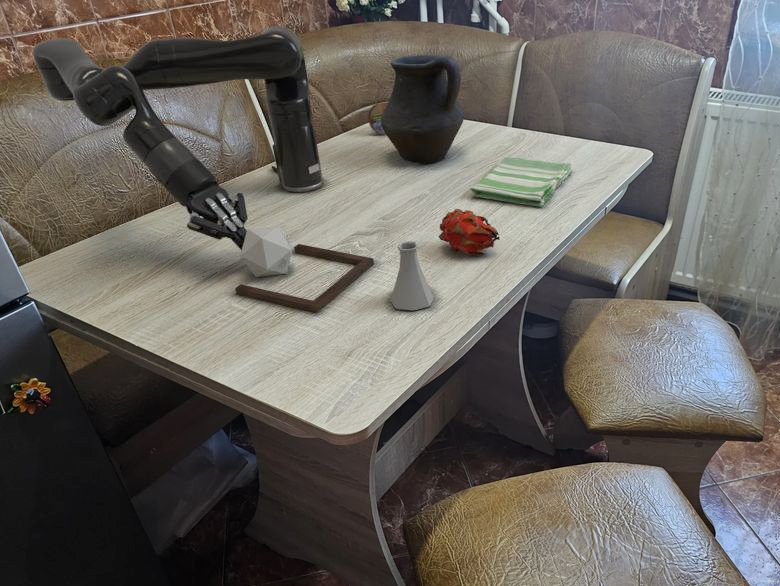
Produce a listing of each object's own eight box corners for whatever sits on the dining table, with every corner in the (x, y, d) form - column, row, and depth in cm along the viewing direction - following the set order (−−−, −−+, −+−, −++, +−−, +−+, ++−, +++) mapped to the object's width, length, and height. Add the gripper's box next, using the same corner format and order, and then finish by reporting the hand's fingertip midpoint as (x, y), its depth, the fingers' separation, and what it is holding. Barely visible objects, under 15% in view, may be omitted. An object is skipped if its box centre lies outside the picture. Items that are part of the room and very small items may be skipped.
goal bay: (236, 294, 107) (234, 288, 106) (299, 249, 120) (298, 243, 120) (317, 313, 102) (316, 306, 101) (374, 264, 115) (373, 258, 114)
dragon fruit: (438, 250, 122) (495, 269, 119) (423, 241, 114) (483, 262, 111) (453, 208, 122) (510, 226, 118) (439, 196, 113) (500, 216, 110)
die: (278, 291, 109) (301, 238, 108) (227, 269, 106) (250, 214, 105) (282, 284, 117) (304, 235, 116) (235, 264, 115) (256, 213, 113)
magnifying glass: (372, 137, 177) (369, 105, 172) (368, 134, 179) (365, 103, 174) (421, 128, 183) (419, 98, 178) (416, 125, 185) (414, 95, 180)
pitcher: (420, 140, 173) (413, 41, 159) (485, 154, 163) (484, 49, 148) (368, 162, 160) (356, 55, 145) (436, 178, 149) (430, 65, 135)
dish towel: (573, 172, 150) (574, 161, 149) (543, 209, 133) (544, 196, 132) (503, 163, 156) (503, 152, 155) (466, 198, 139) (465, 186, 138)
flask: (390, 290, 107) (385, 236, 101) (433, 288, 107) (430, 234, 101) (390, 313, 101) (384, 257, 95) (435, 310, 101) (431, 254, 96)
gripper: (201, 173, 116) (267, 244, 119) (144, 198, 107) (217, 275, 109) (215, 147, 111) (284, 223, 114) (157, 171, 102) (234, 253, 104)
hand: (251, 248), depth 112 cm, fingers closed
